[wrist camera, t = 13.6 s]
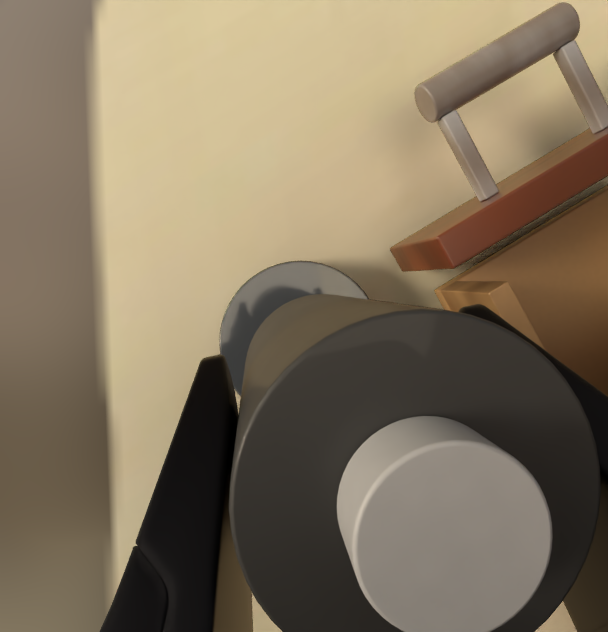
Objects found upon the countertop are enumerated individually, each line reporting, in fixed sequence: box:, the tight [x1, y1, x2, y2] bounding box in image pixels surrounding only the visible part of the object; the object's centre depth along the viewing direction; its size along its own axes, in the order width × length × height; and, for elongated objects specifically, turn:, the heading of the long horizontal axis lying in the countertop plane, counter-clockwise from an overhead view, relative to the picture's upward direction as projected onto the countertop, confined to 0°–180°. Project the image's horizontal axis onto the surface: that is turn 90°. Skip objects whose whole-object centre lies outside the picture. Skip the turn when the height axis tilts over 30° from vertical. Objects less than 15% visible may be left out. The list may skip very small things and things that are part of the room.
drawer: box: [390, 2, 608, 396], centre depth 20 cm, size 18×11×6 cm, turn 31°
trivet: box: [219, 261, 369, 396], centre depth 22 cm, size 7×7×2 cm
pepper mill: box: [229, 294, 601, 632], centre depth 10 cm, size 4×4×10 cm
